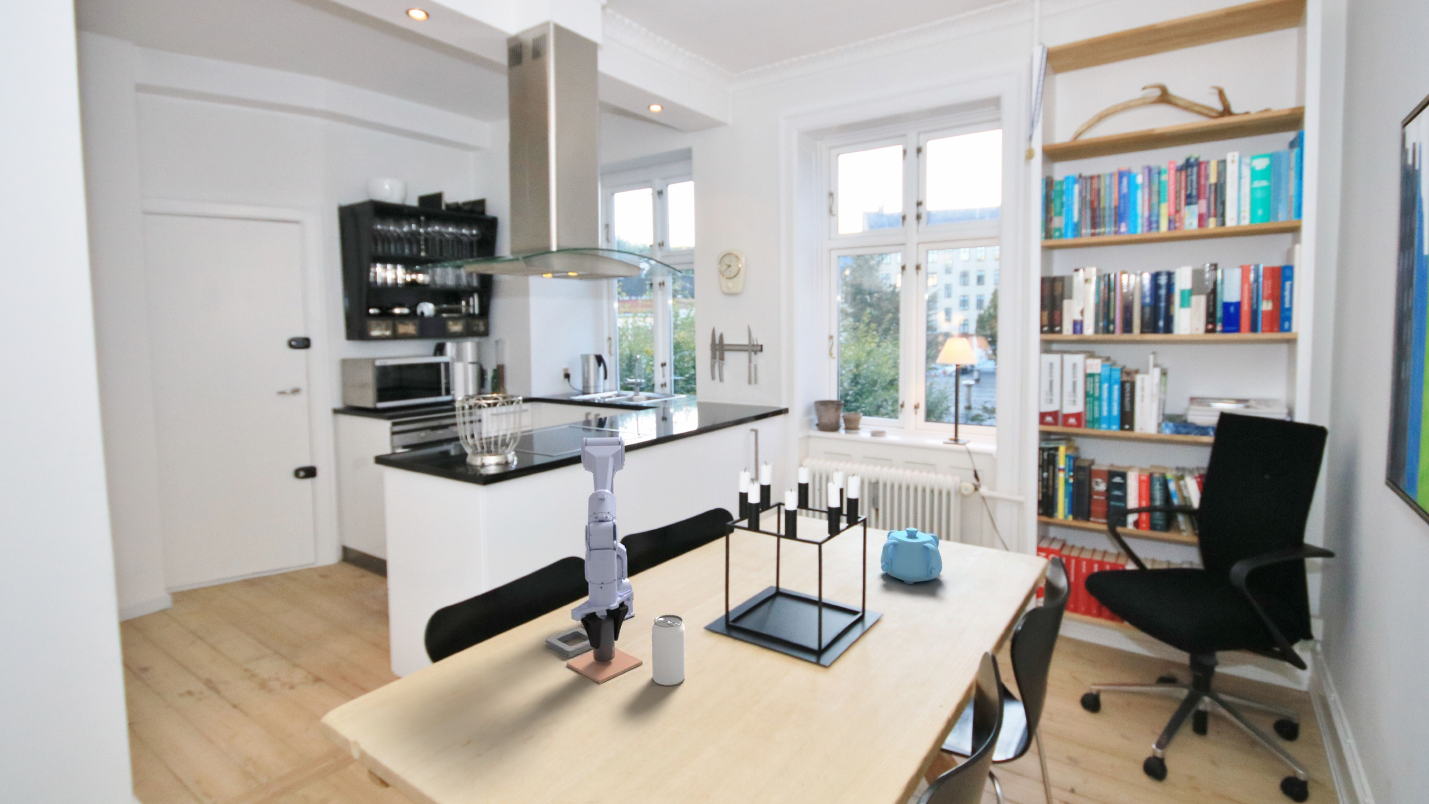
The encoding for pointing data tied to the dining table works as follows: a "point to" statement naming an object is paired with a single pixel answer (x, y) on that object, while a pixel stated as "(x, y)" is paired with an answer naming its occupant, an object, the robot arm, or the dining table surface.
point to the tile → (604, 666)
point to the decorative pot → (911, 556)
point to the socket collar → (558, 640)
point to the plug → (605, 640)
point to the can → (668, 650)
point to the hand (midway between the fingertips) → (604, 643)
